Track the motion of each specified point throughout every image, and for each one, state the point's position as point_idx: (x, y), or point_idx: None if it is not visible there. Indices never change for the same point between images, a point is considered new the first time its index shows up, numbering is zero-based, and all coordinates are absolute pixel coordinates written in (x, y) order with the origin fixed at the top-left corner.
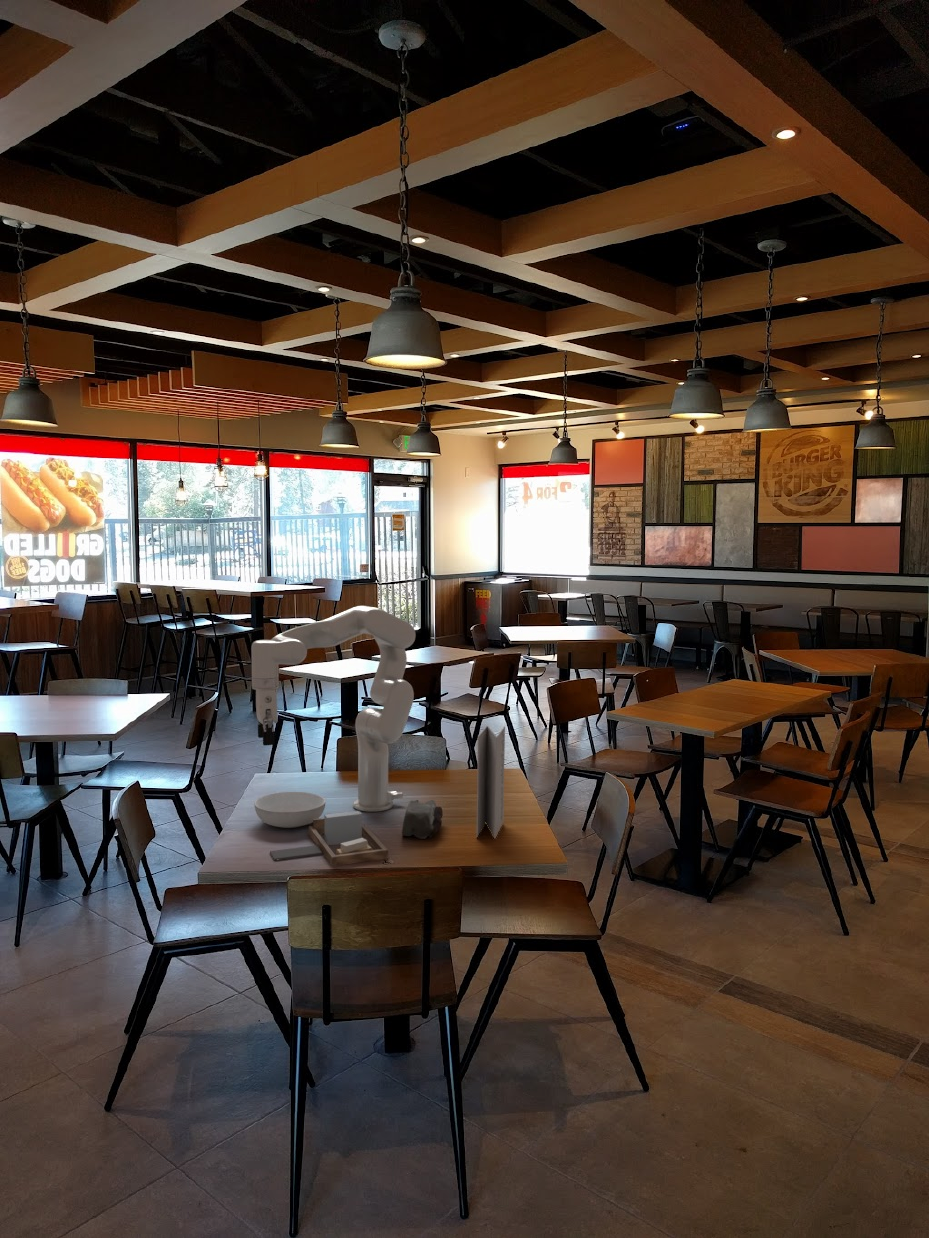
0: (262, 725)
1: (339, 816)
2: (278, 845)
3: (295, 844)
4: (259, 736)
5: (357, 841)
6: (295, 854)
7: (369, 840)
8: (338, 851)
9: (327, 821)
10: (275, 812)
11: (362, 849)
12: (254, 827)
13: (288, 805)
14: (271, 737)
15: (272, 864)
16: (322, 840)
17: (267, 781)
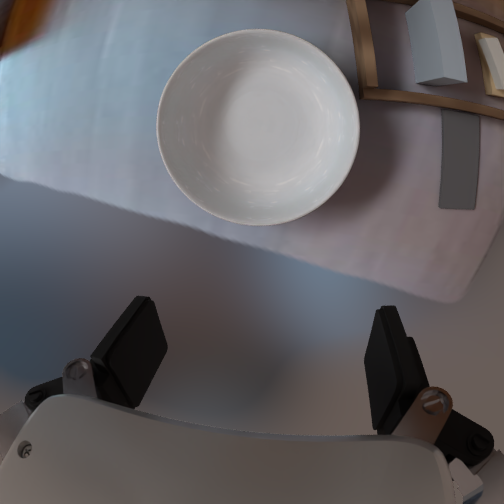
0: (129, 390)
1: (462, 51)
2: (405, 180)
3: (412, 145)
4: (165, 350)
5: (500, 56)
6: (472, 167)
7: None
8: (500, 96)
9: (462, 82)
10: (342, 182)
11: None
12: None
13: (184, 123)
14: (418, 362)
15: (482, 214)
16: (461, 103)
17: (18, 168)
